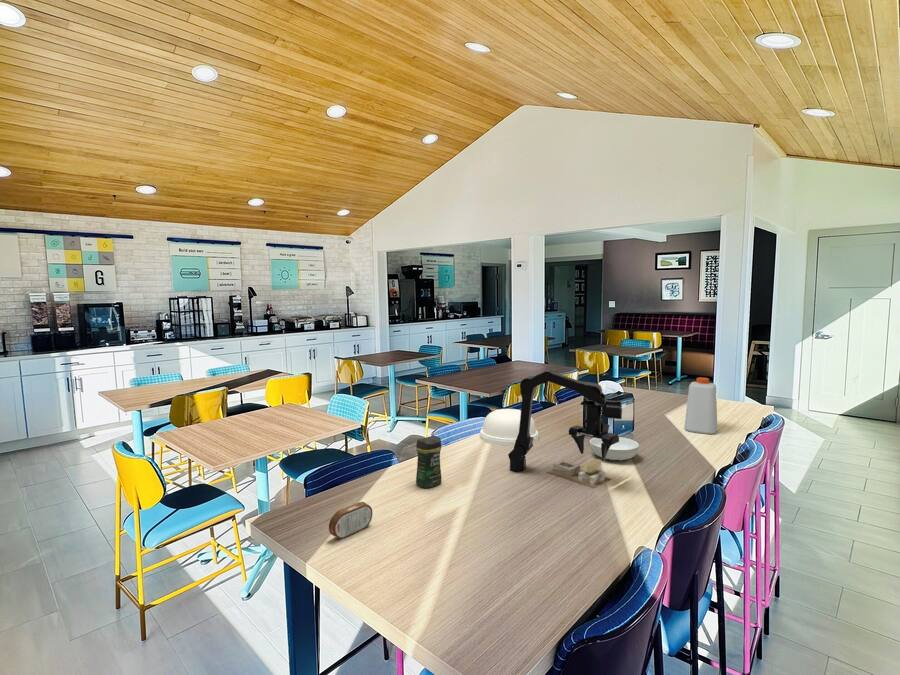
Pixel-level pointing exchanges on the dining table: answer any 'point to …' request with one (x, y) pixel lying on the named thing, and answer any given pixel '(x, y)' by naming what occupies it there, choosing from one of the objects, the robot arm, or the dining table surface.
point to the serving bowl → (616, 449)
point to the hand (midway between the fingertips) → (592, 456)
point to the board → (578, 474)
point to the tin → (350, 520)
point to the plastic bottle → (701, 407)
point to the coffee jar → (428, 462)
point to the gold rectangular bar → (592, 466)
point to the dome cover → (504, 428)
